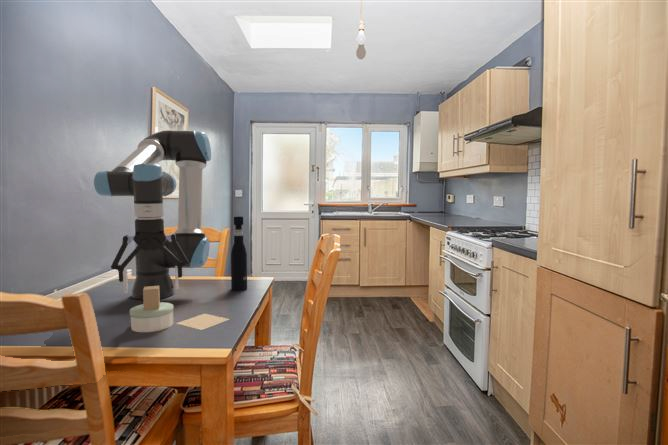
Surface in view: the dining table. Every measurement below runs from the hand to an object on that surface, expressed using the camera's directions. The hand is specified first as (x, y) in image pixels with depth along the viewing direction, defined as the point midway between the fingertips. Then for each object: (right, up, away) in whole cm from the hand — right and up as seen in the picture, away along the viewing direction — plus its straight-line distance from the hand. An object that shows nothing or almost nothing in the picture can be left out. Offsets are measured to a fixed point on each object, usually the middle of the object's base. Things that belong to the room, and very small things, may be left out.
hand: (152, 290), depth 114 cm
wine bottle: (+14, -8, +47) cm, 50 cm away
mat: (+14, -11, +4) cm, 18 cm away
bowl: (0, -11, 0) cm, 11 cm away
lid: (0, -6, 0) cm, 6 cm away
